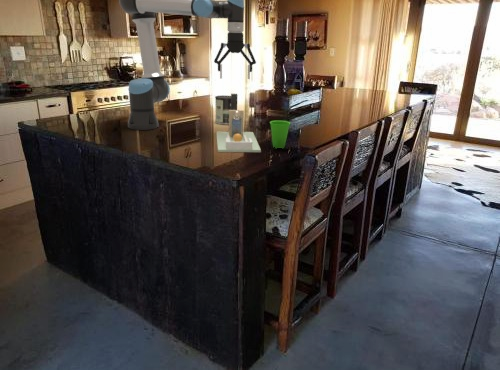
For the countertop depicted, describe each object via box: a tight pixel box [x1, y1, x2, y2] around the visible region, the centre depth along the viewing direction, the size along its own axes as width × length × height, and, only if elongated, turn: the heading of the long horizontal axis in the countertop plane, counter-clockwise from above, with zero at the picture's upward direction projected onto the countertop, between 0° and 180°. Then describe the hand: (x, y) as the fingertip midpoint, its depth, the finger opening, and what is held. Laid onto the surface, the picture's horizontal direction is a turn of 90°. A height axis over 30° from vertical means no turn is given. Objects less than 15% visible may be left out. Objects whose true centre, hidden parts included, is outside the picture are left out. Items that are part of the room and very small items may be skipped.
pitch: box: [215, 109, 262, 153], centre depth 177 cm, size 18×32×13 cm, turn 6°
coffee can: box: [214, 95, 231, 125], centre depth 216 cm, size 10×10×14 cm
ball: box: [233, 133, 242, 142], centre depth 175 cm, size 4×4×4 cm
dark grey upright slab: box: [230, 93, 241, 137], centre depth 189 cm, size 4×25×16 cm, turn 6°
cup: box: [269, 120, 291, 149], centre depth 172 cm, size 9×9×11 cm
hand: (234, 78), depth 194 cm, fingers open, 13 cm apart
